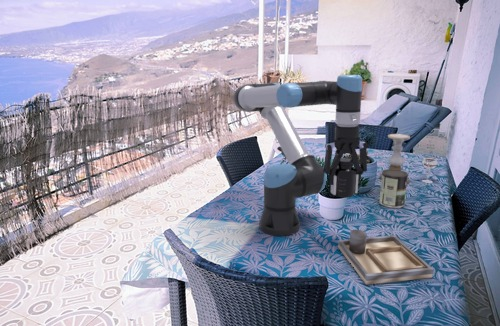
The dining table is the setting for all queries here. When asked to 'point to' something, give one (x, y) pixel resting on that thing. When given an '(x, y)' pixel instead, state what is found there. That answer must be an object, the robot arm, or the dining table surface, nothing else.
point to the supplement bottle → (345, 178)
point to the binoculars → (282, 154)
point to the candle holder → (397, 152)
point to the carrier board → (383, 258)
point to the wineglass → (429, 166)
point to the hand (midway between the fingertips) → (343, 192)
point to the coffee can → (393, 188)
